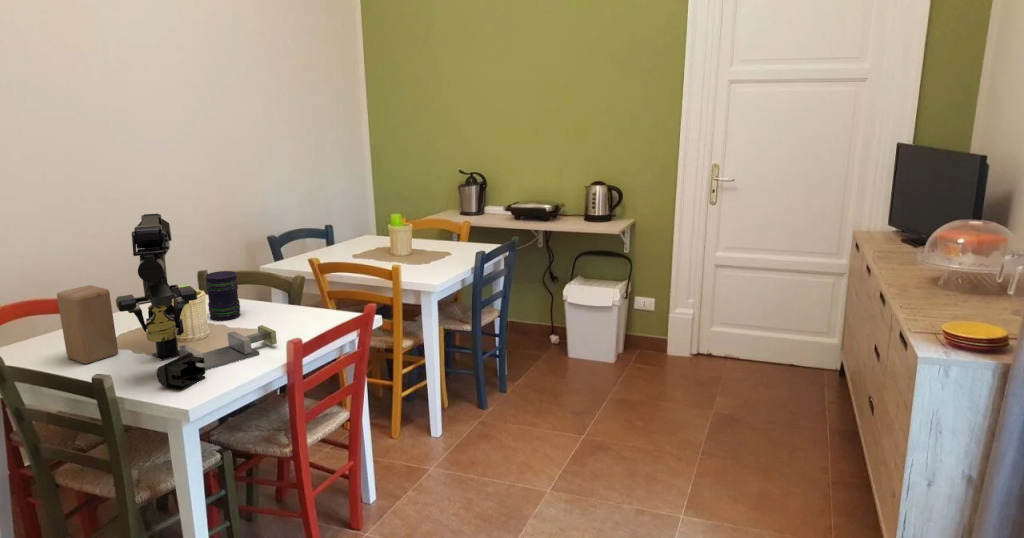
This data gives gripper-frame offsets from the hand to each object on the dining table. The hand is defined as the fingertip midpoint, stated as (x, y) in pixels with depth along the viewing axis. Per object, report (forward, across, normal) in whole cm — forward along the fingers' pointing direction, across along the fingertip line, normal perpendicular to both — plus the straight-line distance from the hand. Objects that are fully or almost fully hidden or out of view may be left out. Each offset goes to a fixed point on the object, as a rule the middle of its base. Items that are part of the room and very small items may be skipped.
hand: (161, 328), depth 186 cm
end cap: (+13, +2, -11) cm, 17 cm away
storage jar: (+13, +26, +40) cm, 49 cm away
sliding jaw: (+11, +24, +3) cm, 27 cm away
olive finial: (+3, 0, 0) cm, 3 cm away
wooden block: (+13, -15, +25) cm, 32 cm away
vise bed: (+12, +14, +1) cm, 19 cm away
